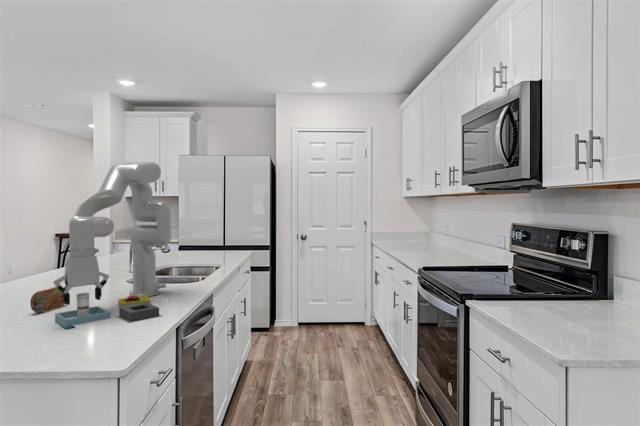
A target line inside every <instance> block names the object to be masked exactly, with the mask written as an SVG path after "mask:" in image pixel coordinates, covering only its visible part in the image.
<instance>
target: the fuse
mask: <svg viewBox="0 0 640 426" xmlns="http://www.w3.org/2000/svg"><path fill="white" fill-rule="evenodd" d="M89 308H90V293H89V292H81V293H77V294H76V310H77V316H76V318H78V317H83V316H89V315H90V314H89Z"/></svg>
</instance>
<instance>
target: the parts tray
mask: <svg viewBox="0 0 640 426" xmlns="http://www.w3.org/2000/svg"><path fill="white" fill-rule="evenodd" d="M73 317H74V318H73ZM107 319H111V312H110V311H109V310H107V309H105V308H103V307H101V306H98V305H97V306H91V307H90V306H89V316H83V317H78V318H77V309H74V310H68V311H61V312H56V313H54V322H55V323H56V324H57V323H58V324H57V325H58V326H61V327H62V328H63V329H64V330H70V329H73V328H74V329H75V328H76V325H80V324H86V323H90V322H91V323H92V322H95V321H100V320H101V321H103V320H107ZM74 325H75V326H74Z"/></svg>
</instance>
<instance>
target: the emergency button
mask: <svg viewBox="0 0 640 426" xmlns="http://www.w3.org/2000/svg"><path fill="white" fill-rule="evenodd" d="M117 303H118V304H116V305H114V306H113V307H114V308H115V307H118V308H121V307H126V306H132V305H138V304H143V303H148V304H151V305H152V300H151V298H150V296H143V297H138V296H128V297H125V298H119V299H118V302H117Z"/></svg>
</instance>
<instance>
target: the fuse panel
mask: <svg viewBox="0 0 640 426" xmlns="http://www.w3.org/2000/svg"><path fill="white" fill-rule="evenodd" d="M118 308H119V307H118ZM118 312H119V313H118V315H115V317H116V318H118V319H121V320H122V321H124V322H126V323H128V324H132V323H135V322H140V321H146V320H150V319H155V318H159V317H160V318H161V317H163V315H162V314H160V307H158V306H156V305H153V304H152V303H151V304H148V303H143V304H138V305H132V306H126V307H121V308H119V311H118Z"/></svg>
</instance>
